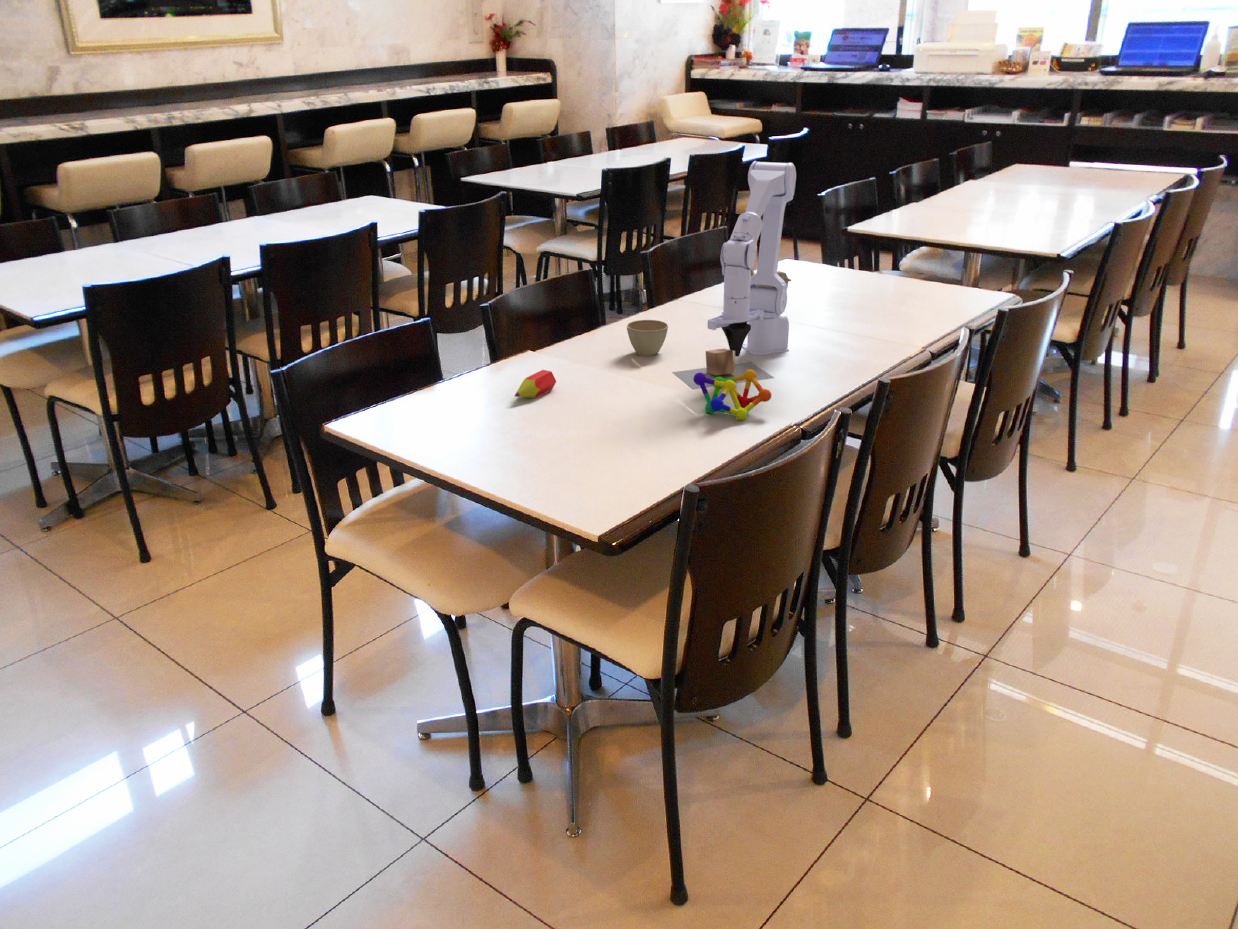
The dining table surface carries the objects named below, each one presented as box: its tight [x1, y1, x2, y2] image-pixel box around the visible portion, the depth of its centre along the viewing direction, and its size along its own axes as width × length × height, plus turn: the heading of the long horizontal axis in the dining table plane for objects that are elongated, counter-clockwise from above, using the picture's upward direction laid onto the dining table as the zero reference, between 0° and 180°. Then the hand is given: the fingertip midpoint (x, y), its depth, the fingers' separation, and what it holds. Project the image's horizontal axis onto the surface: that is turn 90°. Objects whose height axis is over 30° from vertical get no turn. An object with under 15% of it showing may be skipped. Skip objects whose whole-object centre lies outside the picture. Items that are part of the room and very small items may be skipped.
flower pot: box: [626, 319, 669, 357], centre depth 228 cm, size 10×10×7 cm
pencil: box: [514, 369, 557, 399], centre depth 203 cm, size 5×12×4 cm, turn 148°
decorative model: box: [694, 369, 772, 421], centre depth 192 cm, size 13×9×15 cm
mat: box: [672, 361, 775, 390], centre depth 213 cm, size 20×12×1 cm, turn 109°
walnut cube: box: [705, 347, 737, 375], centre depth 213 cm, size 5×5×5 cm
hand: (734, 355), depth 212 cm, fingers closed, pressing on walnut cube
